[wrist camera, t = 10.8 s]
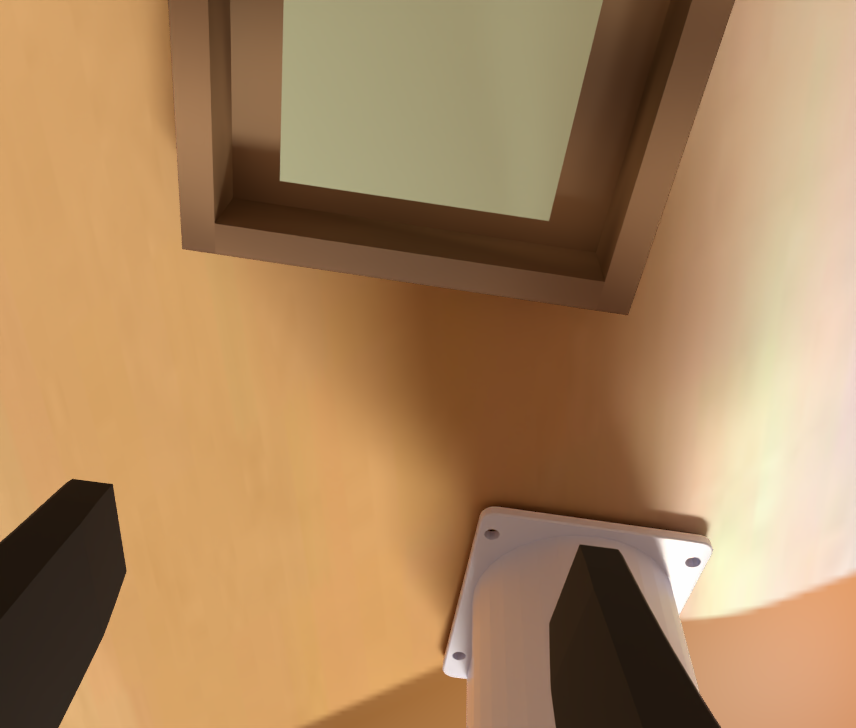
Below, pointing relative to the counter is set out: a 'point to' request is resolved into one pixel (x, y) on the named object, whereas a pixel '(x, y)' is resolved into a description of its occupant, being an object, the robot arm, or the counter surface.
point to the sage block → (434, 98)
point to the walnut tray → (431, 223)
